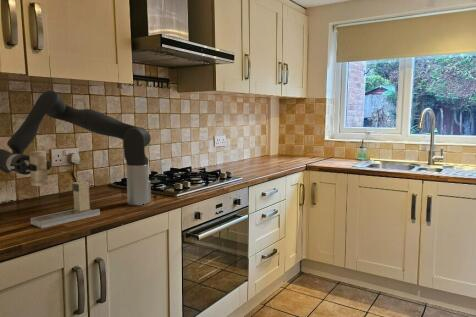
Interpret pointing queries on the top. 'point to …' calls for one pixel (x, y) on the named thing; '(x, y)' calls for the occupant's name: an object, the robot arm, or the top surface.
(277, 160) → the top surface
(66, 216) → the rail
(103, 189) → the top surface
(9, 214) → the top surface
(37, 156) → the beige tall rectangular block
